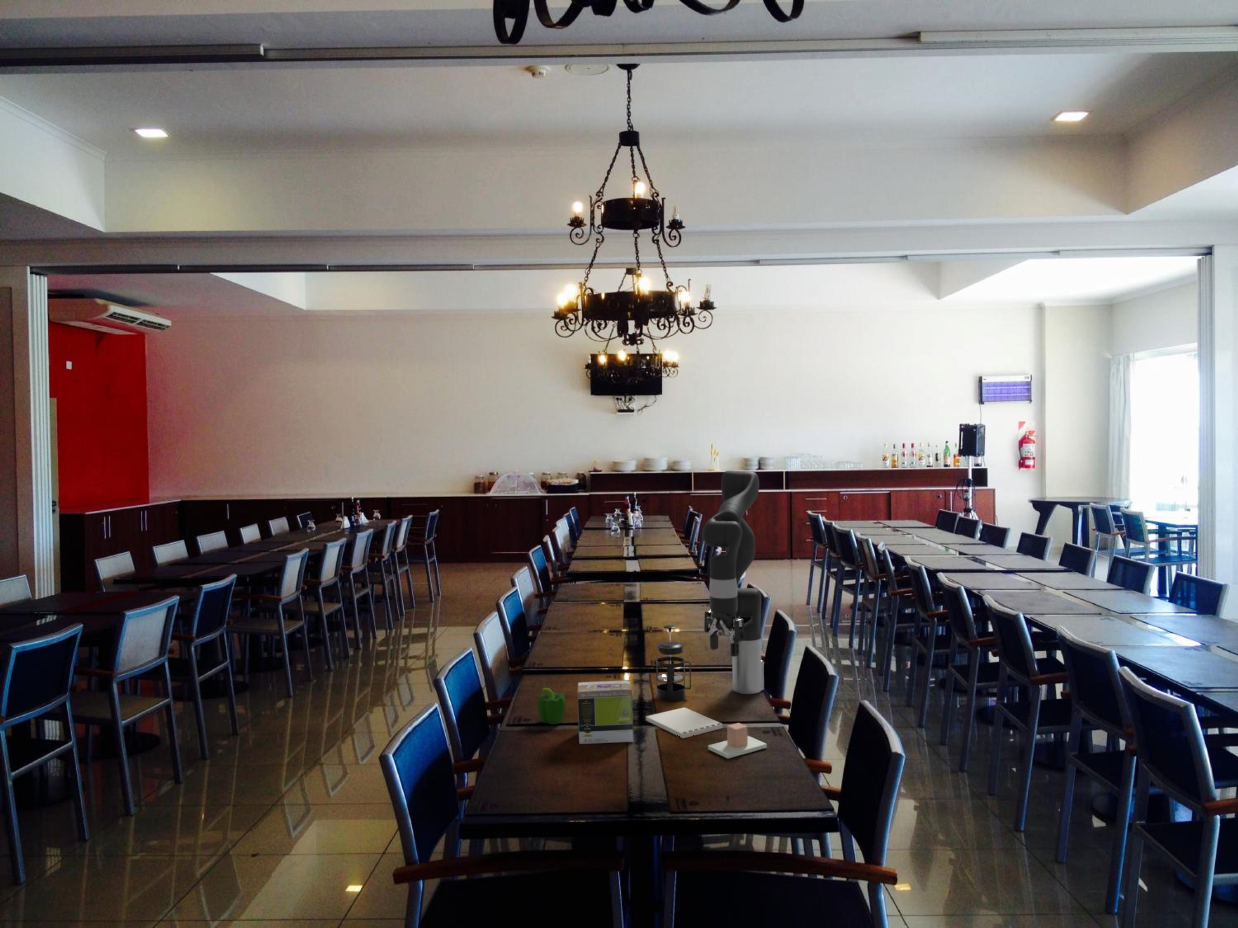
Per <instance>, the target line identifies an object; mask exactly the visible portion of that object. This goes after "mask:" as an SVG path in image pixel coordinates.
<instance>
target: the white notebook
mask: <svg viewBox="0 0 1238 928" xmlns="http://www.w3.org/2000/svg"><path fill="white" fill-rule="evenodd" d="M645 720H646V722H648V723H651V724H652V725H655V726H657V727H659V728H661V729H662V730H665V731H667V732H670V733H671V734H673V735H675V736H677V735H678V736H677V737H679V736H680V737H679V738H681V739H685V738H689V737H690V738H691V737H693V735H694V736H697V735H701V734H705V733H709V732H713V731H717V730H720V729H723V726H724V725H723V723H722V722H719V721H716V720H714V719H712V718H710V717H707V716H705V715H702V714H700V713H698V712H697V711H694V710H692V709H689V708H686V707H681V708H677V709H672V710H668V711H667V710H666V711H663V712H659V713H654V714H650V715H647V716H645Z"/></svg>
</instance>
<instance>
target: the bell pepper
mask: <svg viewBox="0 0 1238 928" xmlns="http://www.w3.org/2000/svg"><path fill="white" fill-rule="evenodd" d="M542 692H544V693H543V694H540V695H539V697H538V699H537V702H536V703H537V704H536V705H537V706H536V707H537V711H538V715H539V717H540V721H541V722H542V723H543V724H544V723H545V724H550V725H557V724H560V723H561V722H563V720H564V717H565V713H566V708H567V707H566V706H567V705H566V703H567V701H566V697H565V694H564V693H562V692H561V693H557V692H554V691H553V690H552V689H550V688H549V687H544V688H542ZM545 692H548V694H547V693H545Z"/></svg>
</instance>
